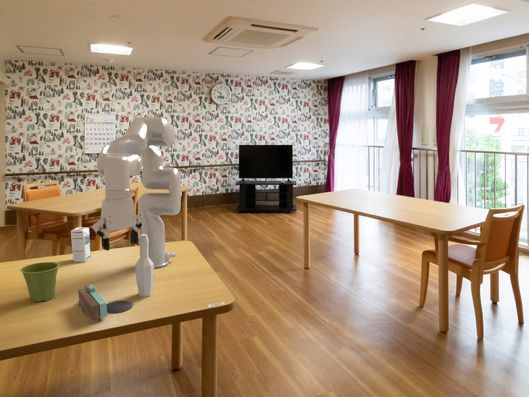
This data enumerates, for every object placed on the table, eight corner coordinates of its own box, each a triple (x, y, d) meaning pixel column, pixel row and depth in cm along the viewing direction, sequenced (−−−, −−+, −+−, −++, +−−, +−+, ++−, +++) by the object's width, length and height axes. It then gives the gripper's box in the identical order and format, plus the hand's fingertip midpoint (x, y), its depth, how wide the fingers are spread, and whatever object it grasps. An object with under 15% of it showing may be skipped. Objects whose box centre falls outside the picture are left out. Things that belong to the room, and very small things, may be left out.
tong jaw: (94, 301, 137) (93, 285, 136) (107, 315, 127) (106, 299, 126) (88, 302, 136) (87, 287, 135) (100, 317, 125) (99, 300, 125)
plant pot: (66, 290, 149) (64, 261, 147) (53, 304, 137) (51, 272, 135) (32, 291, 148) (29, 261, 146) (16, 305, 136) (13, 273, 134)
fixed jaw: (92, 299, 141) (91, 283, 140) (109, 319, 127) (108, 300, 126) (77, 303, 138) (76, 286, 137) (92, 323, 124) (91, 304, 123)
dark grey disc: (126, 299, 142) (126, 298, 142) (136, 308, 135) (136, 307, 135) (100, 305, 136) (99, 304, 136) (108, 315, 129) (108, 314, 129)
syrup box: (85, 262, 181) (83, 230, 179) (72, 261, 181) (70, 230, 179) (91, 258, 187) (89, 227, 184) (78, 257, 187) (76, 227, 184)
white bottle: (155, 290, 150) (153, 232, 147) (153, 297, 144) (151, 236, 140) (137, 291, 149) (135, 232, 146) (135, 298, 143) (132, 237, 139)
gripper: (136, 190, 139) (138, 239, 142) (85, 196, 126) (89, 249, 129) (148, 193, 134) (150, 243, 137) (96, 199, 121) (100, 254, 124)
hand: (120, 246), depth 133 cm, fingers open, 9 cm apart
